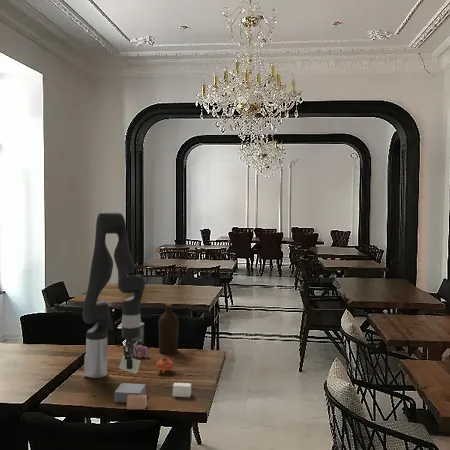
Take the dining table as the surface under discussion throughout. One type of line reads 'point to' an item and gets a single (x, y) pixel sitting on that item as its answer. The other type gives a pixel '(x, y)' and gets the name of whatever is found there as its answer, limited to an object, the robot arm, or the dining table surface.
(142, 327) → the canned tomato
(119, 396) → the charcoal block
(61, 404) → the dining table surface
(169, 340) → the brown bottle
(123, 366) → the sage brick
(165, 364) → the pot
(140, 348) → the video game controller
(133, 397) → the terracotta brick
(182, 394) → the cream brick
